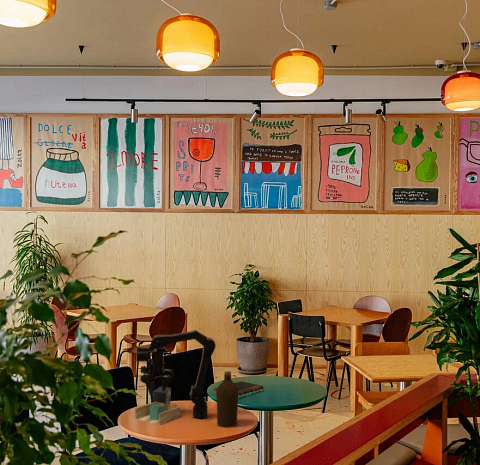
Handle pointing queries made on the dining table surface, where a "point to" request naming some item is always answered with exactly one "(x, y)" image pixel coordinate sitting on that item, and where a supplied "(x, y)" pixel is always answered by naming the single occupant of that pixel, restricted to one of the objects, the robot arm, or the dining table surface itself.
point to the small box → (162, 395)
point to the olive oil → (227, 402)
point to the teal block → (156, 411)
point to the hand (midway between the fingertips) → (157, 393)
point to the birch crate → (167, 415)
